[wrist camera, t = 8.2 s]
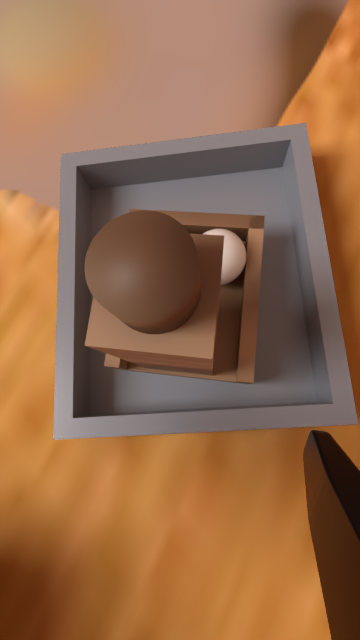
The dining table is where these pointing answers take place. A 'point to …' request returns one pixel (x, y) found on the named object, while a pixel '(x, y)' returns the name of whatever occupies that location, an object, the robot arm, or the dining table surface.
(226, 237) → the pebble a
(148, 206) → the bin
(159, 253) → the brown wooden box
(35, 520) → the dining table surface
